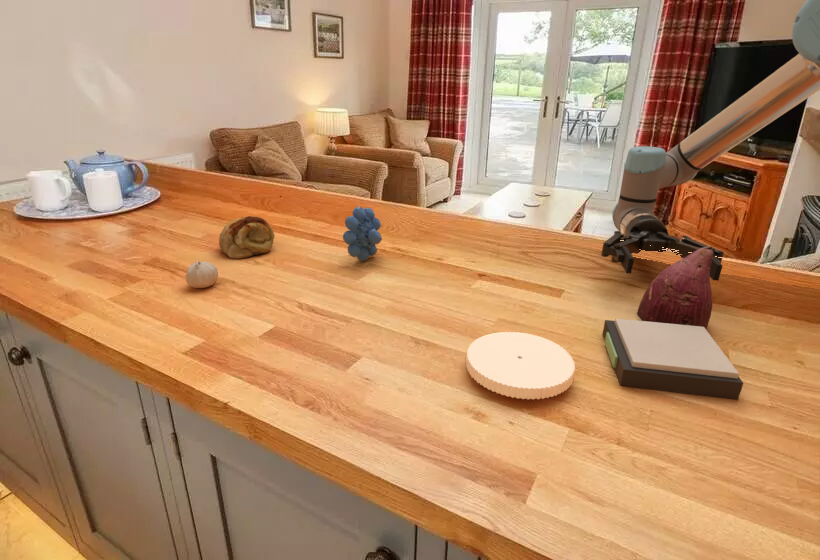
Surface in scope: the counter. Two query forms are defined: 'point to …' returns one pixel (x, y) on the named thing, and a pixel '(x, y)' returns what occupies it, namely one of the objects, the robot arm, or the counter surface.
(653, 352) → the scale
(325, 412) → the counter surface
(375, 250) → the grapes
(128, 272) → the counter surface
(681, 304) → the vegetable
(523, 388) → the plastic lid
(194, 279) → the garlic
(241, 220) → the pastry
